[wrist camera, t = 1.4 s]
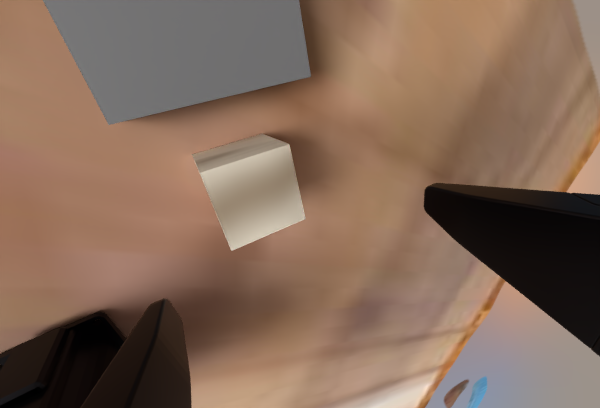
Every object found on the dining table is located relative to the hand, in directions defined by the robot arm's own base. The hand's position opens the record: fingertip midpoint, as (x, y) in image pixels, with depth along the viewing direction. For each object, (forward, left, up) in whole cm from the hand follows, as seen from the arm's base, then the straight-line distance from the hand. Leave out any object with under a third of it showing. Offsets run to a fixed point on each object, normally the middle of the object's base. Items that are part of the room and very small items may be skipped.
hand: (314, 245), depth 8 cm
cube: (-1, 0, -12) cm, 12 cm away
